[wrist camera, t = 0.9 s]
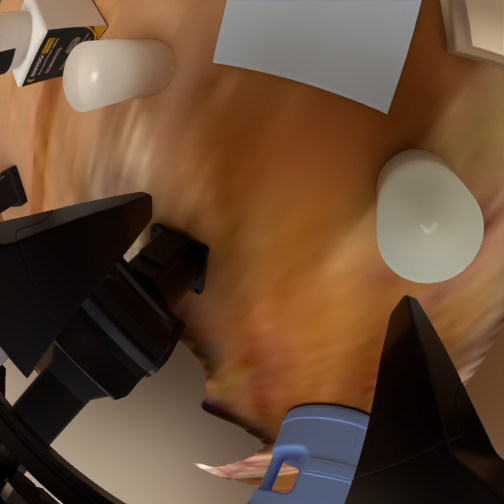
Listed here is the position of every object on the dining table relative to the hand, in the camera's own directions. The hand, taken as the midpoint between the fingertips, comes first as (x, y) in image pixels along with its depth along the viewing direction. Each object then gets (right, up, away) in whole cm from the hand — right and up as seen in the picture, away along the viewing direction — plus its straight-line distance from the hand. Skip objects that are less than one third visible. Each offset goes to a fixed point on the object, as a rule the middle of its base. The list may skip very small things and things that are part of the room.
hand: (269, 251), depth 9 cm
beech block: (+13, +14, 0) cm, 19 cm away
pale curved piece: (+11, +4, +8) cm, 14 cm away
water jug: (+12, -27, +29) cm, 41 cm away
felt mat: (+4, +15, +3) cm, 16 cm away
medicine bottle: (-18, +22, +9) cm, 30 cm away
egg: (-9, +15, +10) cm, 20 cm away
